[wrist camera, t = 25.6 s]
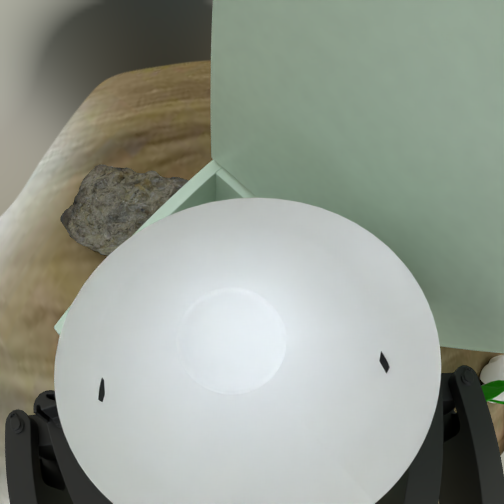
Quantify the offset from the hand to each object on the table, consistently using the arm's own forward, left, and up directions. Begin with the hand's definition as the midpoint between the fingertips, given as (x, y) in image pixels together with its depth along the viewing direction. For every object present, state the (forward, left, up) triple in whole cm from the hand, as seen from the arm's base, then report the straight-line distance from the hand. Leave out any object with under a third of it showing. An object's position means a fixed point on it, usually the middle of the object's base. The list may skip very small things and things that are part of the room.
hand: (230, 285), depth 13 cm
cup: (+2, -2, -4) cm, 5 cm away
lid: (+2, +5, +6) cm, 8 cm away
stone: (-12, -1, -12) cm, 17 cm away
